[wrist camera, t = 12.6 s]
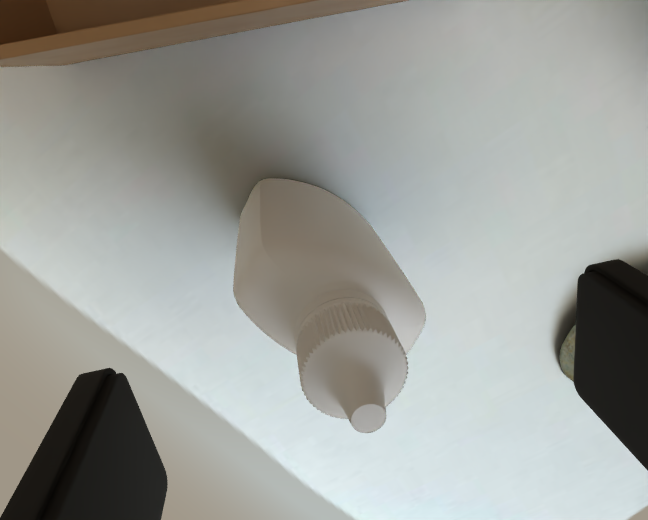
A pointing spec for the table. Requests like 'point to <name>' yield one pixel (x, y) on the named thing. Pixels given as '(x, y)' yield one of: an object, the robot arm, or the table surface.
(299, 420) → the table surface
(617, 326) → the robot arm
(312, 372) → the eye dropper bottle
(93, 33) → the carton
